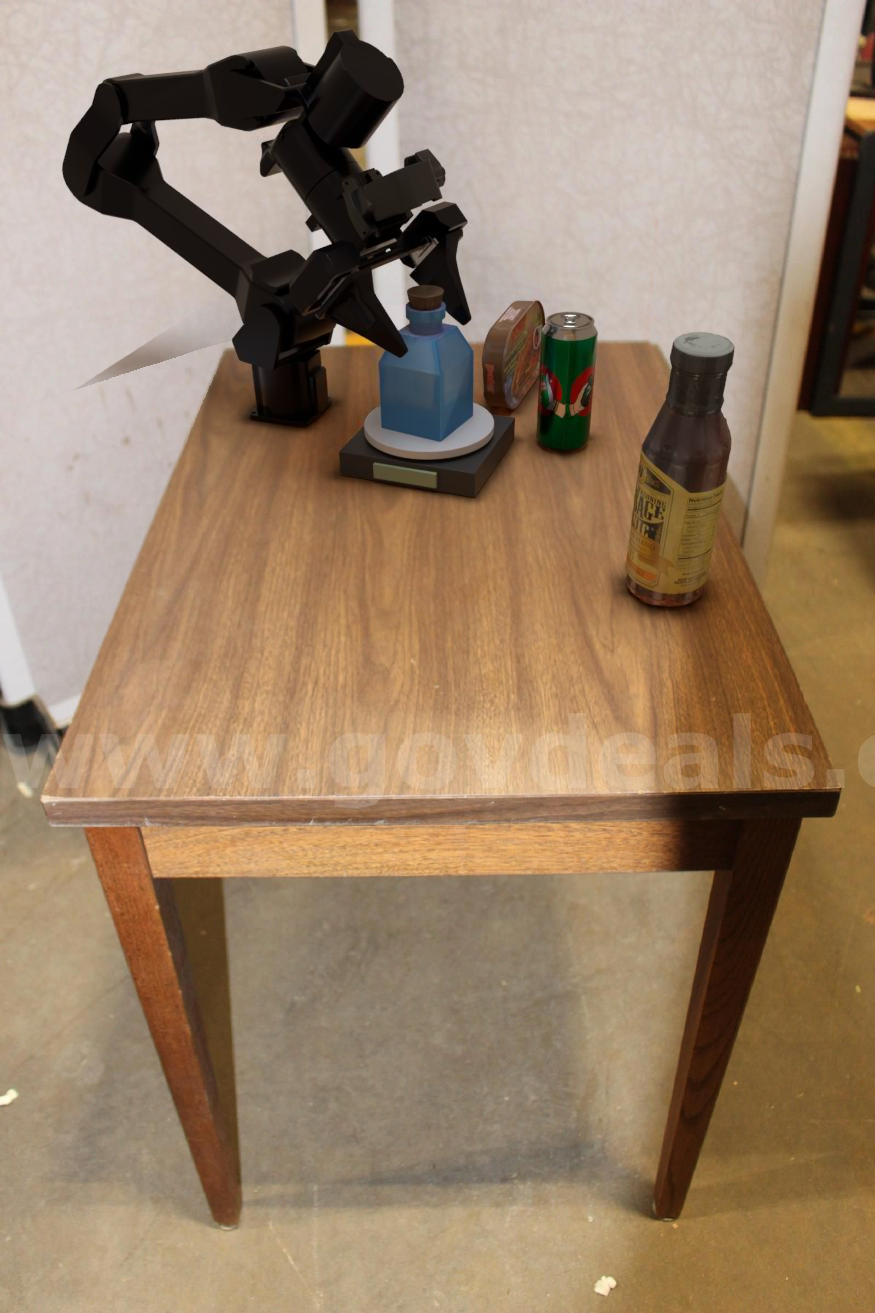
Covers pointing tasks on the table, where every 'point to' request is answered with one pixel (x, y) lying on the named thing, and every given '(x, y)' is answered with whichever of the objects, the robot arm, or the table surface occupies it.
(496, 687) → the table surface
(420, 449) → the scale
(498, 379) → the tin
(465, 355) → the perfume bottle
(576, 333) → the soda can
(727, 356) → the sauce bottle
